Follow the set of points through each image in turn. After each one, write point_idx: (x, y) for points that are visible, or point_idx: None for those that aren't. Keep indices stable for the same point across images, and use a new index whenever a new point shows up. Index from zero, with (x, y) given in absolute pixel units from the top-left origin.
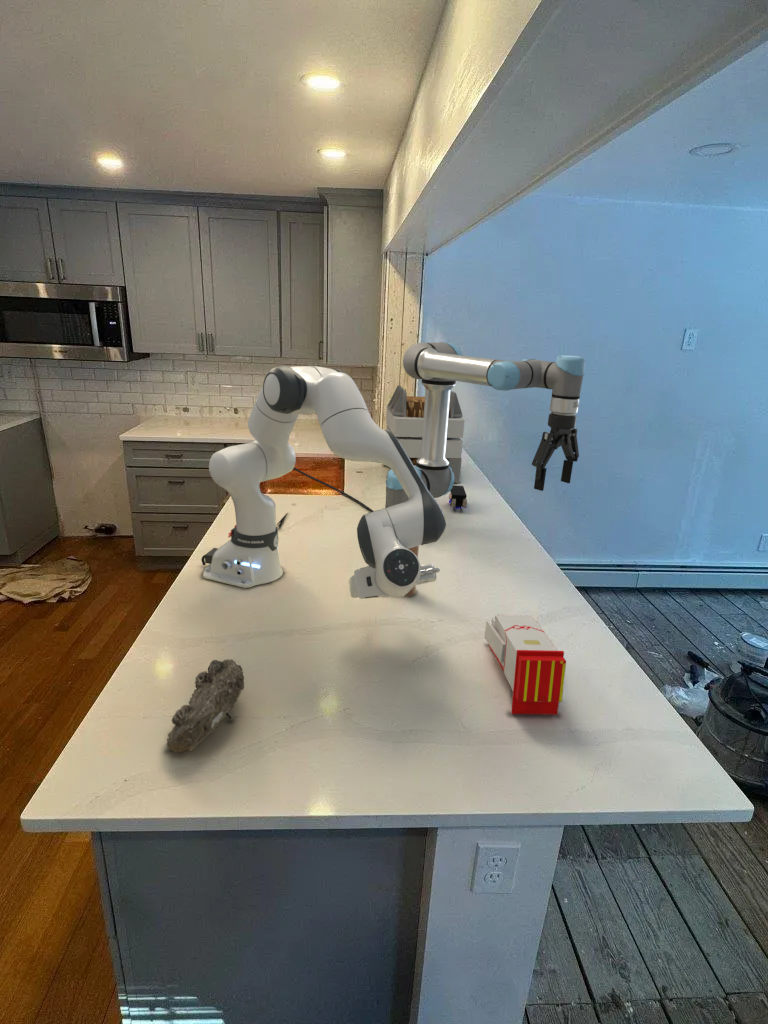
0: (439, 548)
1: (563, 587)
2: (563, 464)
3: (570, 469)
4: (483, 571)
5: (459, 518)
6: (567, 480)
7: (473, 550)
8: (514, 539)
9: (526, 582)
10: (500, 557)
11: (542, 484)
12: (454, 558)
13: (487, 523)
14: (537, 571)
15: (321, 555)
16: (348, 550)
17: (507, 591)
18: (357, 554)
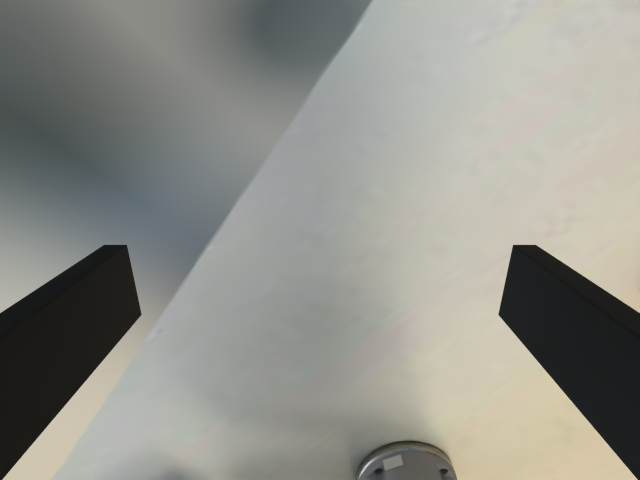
0: (406, 385)
1: (346, 53)
2: (32, 440)
3: (29, 320)
4: (435, 251)
5: (222, 465)
6: (116, 268)
7: (349, 339)
8: (199, 326)
9: (404, 143)
10: (327, 278)
11: (573, 272)
12: (426, 334)
13: (182, 418)
14: (318, 167)
15: (619, 474)
16: (563, 466)
17: (492, 141)
18: (567, 447)
